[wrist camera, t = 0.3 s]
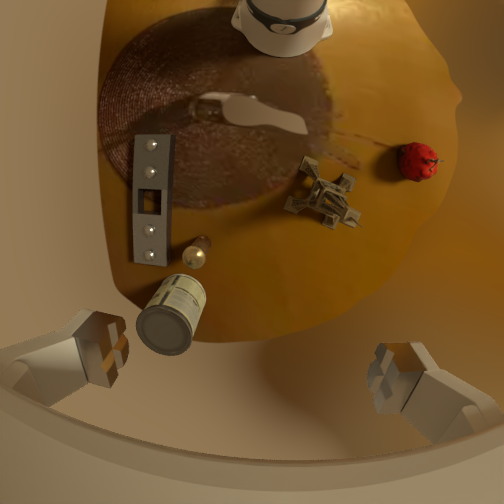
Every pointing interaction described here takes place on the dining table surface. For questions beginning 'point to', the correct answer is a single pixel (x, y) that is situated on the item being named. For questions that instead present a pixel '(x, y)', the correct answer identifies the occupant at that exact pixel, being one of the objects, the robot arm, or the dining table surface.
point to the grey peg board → (161, 177)
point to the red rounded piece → (417, 161)
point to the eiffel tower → (332, 192)
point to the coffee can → (172, 315)
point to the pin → (196, 252)
